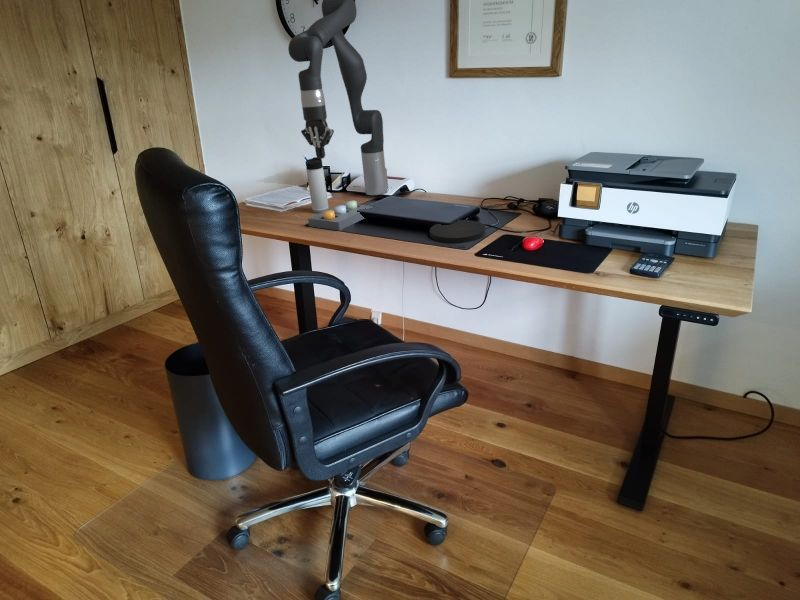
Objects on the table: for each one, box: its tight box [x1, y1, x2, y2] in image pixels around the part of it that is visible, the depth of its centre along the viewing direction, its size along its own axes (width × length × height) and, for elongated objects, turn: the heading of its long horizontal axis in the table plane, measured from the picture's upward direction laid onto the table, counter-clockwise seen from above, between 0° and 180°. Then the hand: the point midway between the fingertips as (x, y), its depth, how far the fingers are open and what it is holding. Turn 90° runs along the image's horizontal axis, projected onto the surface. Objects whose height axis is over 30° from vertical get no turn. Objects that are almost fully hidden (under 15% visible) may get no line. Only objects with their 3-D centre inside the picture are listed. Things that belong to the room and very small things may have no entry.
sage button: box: [345, 199, 358, 210], centre depth 207 cm, size 4×4×4 cm
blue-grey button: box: [334, 204, 346, 215], centre depth 202 cm, size 4×4×4 cm
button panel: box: [307, 202, 374, 232], centre depth 203 cm, size 20×14×3 cm
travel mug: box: [305, 156, 330, 214], centre depth 213 cm, size 6×7×20 cm
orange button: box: [323, 210, 335, 220], centre depth 197 cm, size 4×4×4 cm
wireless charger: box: [429, 219, 486, 244], centre depth 179 cm, size 18×18×2 cm
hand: (321, 158), depth 188 cm, fingers closed
